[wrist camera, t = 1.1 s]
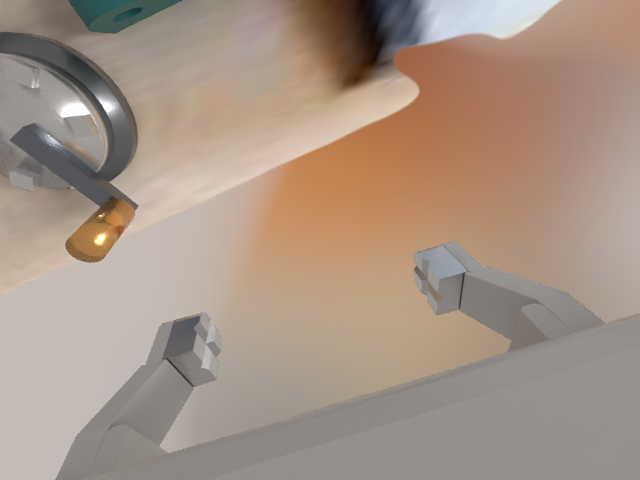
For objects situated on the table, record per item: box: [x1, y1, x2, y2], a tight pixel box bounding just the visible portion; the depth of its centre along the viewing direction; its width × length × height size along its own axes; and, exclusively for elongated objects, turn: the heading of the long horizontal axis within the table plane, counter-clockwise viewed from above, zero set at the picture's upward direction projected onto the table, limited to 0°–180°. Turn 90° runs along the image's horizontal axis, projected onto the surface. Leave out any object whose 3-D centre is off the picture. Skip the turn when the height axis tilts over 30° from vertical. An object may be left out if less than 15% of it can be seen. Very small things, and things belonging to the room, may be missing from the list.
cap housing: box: [0, 32, 138, 189], centre depth 30 cm, size 15×15×2 cm
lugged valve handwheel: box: [0, 53, 138, 262], centre depth 26 cm, size 18×12×12 cm
